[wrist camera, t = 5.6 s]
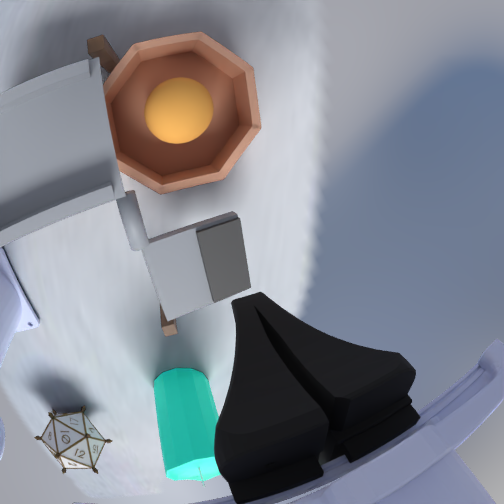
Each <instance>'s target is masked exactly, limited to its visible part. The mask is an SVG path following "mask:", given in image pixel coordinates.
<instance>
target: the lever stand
mask: <svg viewBox="0 0 504 504" xmlns="http://www.w3.org/2000/svg"><path fill="white" fill-rule="evenodd" d="M87 45H88V54H89V55H90V56H91V57H92V58H97V57H99V60H100V65H101V66H102V67H103V68H104V69H105V70H106V71H107V72H108V73H111V72H112V71H113V70H114V68H115V67H116V66H117V64H118V63H119V62H120V59H119V58H118V56H117V55H116V53H115V52H114V50H113V49H112V47H111V46H110V44H109V43H108V41H107V40H106V38H105V37H104V35H100V36H97V37H94V38H91V39H88V40H87ZM160 313H161V326H162V329H163V332H164V334H165V336H170V335H174V334H178V332H177V325H176V318H175V319H173V320H170V321H167V319H166V316H165V314H164V311H163V309H162V306H161V304H160Z"/></svg>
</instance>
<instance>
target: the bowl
mask: <svg viewBox="0 0 504 504" xmlns="http://www.w3.org/2000/svg"><path fill="white" fill-rule="evenodd" d="M178 77H184V78H190V79H193V80H195V81H197V82H199V83H201V84H202V85H203V86H204V87H205V88H206V89H207V90H208V92H209V93H210V95H211V97H212V101H213V108H214V111H213V116H212V120H211V122H210V124H209V126H208V127H207V129H206V130H205V131H204V132H203V133H202V134H201V135H200V136H198V137H197V138H195V139H194V140H191V141H189V142H185V143H179V144H174V143H168V142H165V141H162V140H160V139H158V138H157V137H156V136H155V135H153V134H152V132H151V131H150V130H149V128H148V127H147V124H146V122H145V117H144V109H145V104H146V101H147V98H148V96H149V95H150V93H151V92H152V91H153V89H155V88H156V87H157V86H158V85H159V84H161V83H162V82H164V81H166V80H169V79H172V78H178ZM103 90H104V97H105V103H106V109H107V115H108V120H109V125H110V131H111V135H112V140H113V145H114V150H115V154H116V159H117V163H118V167H119V171H121V172H122V173H124V174H126V175H127V176H129V177H131V178H133V179H134V180H136V181H138V182H140V183H141V184H143V185H145V186H147V187H148V188H150V189H152V190H153V191H155V192H157V193H159V194H165V193H169V192H173V191H177V190H181V189H185V188H189V187H193V186H197V185H202V184H206V183H210V182H215V181H219V180H224V179H225V177H226V176H227V174H228V173H229V172H230V170H231V169H232V167H233V166H234V165H235V163H236V162H237V160H238V159H239V158H240V156H241V155H242V153H243V152H244V151H245V149H246V148H247V147H248V145H249V144H250V143H251V141H252V140H253V139H254V137H255V136H256V135H257V133H258V132H259V131H260V129H261V121H260V113H259V106H258V99H257V91H256V84H255V77H254V70H253V67H252V66H250V65H249V64H248V63H246V62H245V61H244V60H242V59H241V58H240V57H238V56H237V55H235V54H234V53H233V52H231V51H230V50H228V49H227V48H225V47H224V46H223V45H221V44H220V43H218V42H217V41H215V40H214V39H212V38H211V37H209V36H207V35H206V34H204V33H203V32H193V33H186V34H179V35H173V36H168V37H162V38H157V39H153V40H148V41H144V42H139V43H135V44H133V45H132V46H131V48H130V49H129V50H128V51H127V53H126V54H125V55H124V56H123V58H122V59H121V60H120V62H119V63H118V64H117V66H116V67H115V68H114V70H113V71H112V72H111V74H110V75H109V77H108V78H107V80H106V81H105V82H104V84H103Z"/></svg>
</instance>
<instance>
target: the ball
mask: <svg viewBox="0 0 504 504" xmlns="http://www.w3.org/2000/svg"><path fill="white" fill-rule="evenodd" d="M213 111H214V108H213V101H212V97H211V95H210V93H209V92H208V90H207V89H206V88H205V87H204V86H203V85H202V84H201V83H199V82H197V81H195V80H193V79H190V78H184V77H178V78H172V79H169V80H166V81H164V82H162V83H161V84H159V85H158V86H157V87H156V88H155V89H153V91H152V92H151V93H150V95H149V96H148V98H147V101H146V104H145V109H144V117H145V122H146V124H147V127H148V128H149V130H150V131H151V132H152V134H153V135H155V136H156V137H157V138H158V139H160V140H162V141H165V142H168V143H174V144H179V143H185V142H189V141H191V140H194V139H195V138H197V137H198V136H200V135H201V134H202V133H203V132H204V131H205V130H206V129H207V127H208V126H209V124H210V122H211V120H212V116H213Z"/></svg>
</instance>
